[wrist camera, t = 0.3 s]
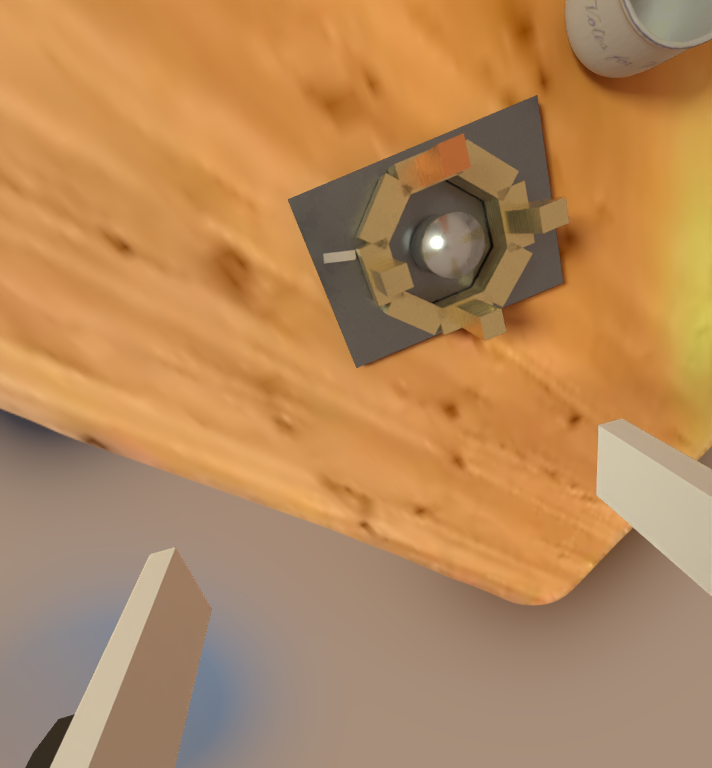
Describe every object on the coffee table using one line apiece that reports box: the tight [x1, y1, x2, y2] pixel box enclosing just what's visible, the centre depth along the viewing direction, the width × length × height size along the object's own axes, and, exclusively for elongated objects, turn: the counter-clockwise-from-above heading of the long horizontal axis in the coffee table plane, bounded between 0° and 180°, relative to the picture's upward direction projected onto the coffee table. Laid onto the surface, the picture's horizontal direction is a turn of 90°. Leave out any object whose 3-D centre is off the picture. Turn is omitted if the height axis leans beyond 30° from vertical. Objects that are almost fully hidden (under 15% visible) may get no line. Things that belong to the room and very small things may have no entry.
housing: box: [288, 95, 563, 368], centre depth 32 cm, size 16×22×6 cm
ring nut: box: [355, 133, 569, 341], centre depth 30 cm, size 14×14×8 cm
